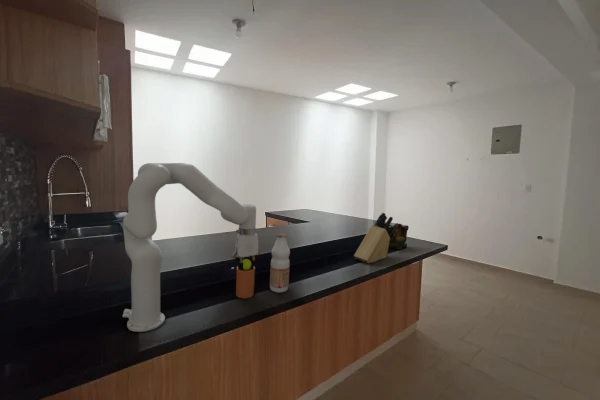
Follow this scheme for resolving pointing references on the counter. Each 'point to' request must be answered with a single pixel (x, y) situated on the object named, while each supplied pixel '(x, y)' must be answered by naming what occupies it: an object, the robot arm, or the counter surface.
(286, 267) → the fruit juice
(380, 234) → the knife block
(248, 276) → the tube
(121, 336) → the counter surface
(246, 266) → the ball
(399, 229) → the pottery vessel
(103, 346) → the counter surface
